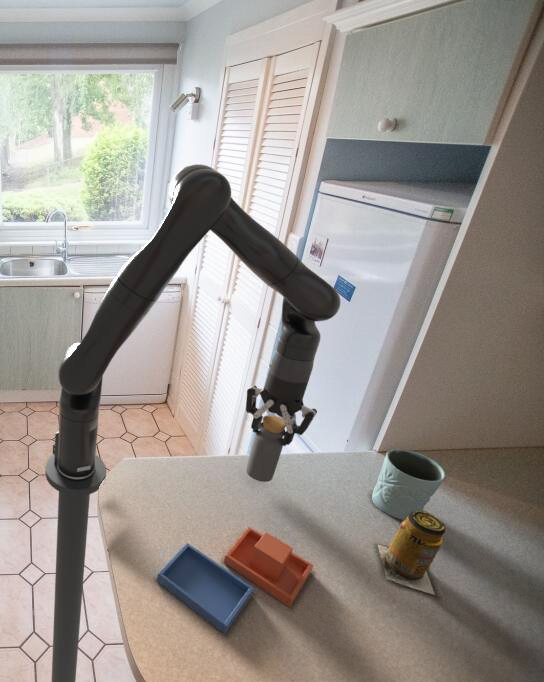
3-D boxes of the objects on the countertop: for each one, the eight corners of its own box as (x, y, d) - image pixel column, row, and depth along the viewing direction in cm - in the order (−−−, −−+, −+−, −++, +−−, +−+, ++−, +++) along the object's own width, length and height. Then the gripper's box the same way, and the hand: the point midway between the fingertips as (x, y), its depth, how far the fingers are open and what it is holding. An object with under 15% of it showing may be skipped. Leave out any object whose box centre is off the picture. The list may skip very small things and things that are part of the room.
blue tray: (156, 581, 84) (158, 573, 83) (185, 549, 90) (187, 542, 89) (224, 634, 75) (227, 626, 74) (251, 595, 81) (254, 588, 80)
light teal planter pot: (391, 486, 106) (409, 445, 101) (436, 518, 97) (459, 475, 92) (357, 494, 104) (374, 453, 99) (400, 529, 95) (421, 485, 90)
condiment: (421, 559, 88) (445, 513, 83) (434, 595, 81) (461, 548, 76) (377, 545, 91) (397, 501, 86) (385, 579, 84) (409, 533, 79)
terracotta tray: (223, 562, 88) (225, 555, 87) (246, 533, 94) (248, 526, 93) (289, 607, 79) (292, 599, 79) (310, 572, 86) (313, 565, 85)
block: (248, 565, 86) (254, 546, 84) (259, 550, 90) (265, 531, 87) (275, 582, 83) (282, 563, 81) (286, 566, 86) (293, 548, 84)
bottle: (247, 479, 104) (263, 426, 98) (243, 462, 110) (258, 411, 103) (275, 484, 103) (292, 431, 97) (270, 467, 108) (286, 415, 102)
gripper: (333, 379, 92) (310, 445, 99) (262, 355, 102) (245, 417, 109) (321, 392, 87) (297, 460, 95) (247, 365, 97) (231, 429, 104)
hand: (269, 437), depth 102 cm, fingers closed on bottle, 5 cm apart
